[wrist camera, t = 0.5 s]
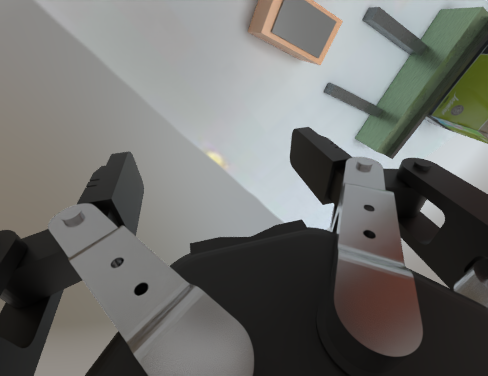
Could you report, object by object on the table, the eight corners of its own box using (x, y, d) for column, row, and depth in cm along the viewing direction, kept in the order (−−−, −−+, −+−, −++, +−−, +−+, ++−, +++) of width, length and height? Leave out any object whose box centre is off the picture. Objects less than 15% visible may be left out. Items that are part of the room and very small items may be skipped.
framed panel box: (262, -14, 28) (282, -23, 23) (317, 22, 31) (345, 21, 26) (247, 31, 30) (262, 33, 25) (300, 59, 34) (322, 65, 29)
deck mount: (393, -37, 30) (444, -52, 24) (451, 20, 36) (503, 18, 30) (308, 119, 40) (330, 135, 34) (365, 142, 46) (392, 158, 40)
